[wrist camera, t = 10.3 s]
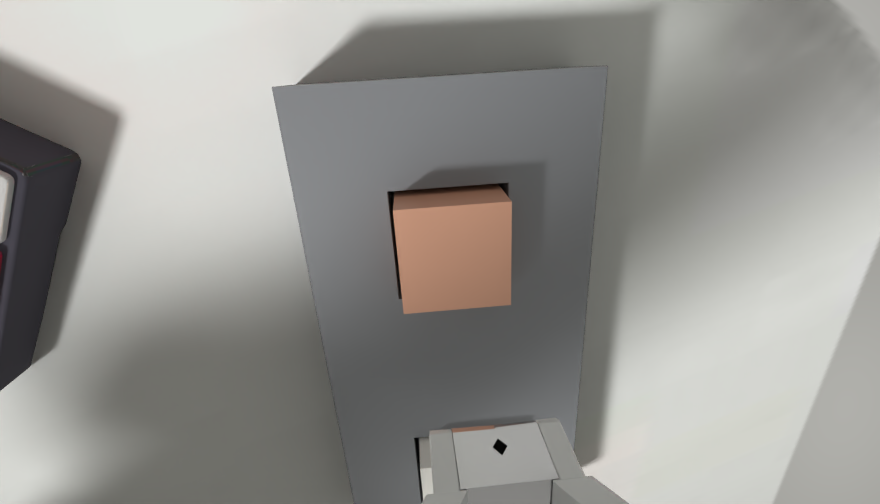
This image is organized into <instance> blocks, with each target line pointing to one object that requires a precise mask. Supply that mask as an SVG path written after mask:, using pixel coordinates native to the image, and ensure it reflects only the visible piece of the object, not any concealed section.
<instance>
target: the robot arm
mask: <svg viewBox="0 0 880 504" xmlns="http://www.w3.org/2000/svg"><path fill="white" fill-rule="evenodd" d="M429 441H430V455H431V469H432V482H433V494H427V495H426V497H425V498H424V500H423V502H422V503H421V504H629V503H628V502H626V501H625V500H624V499H622V498H621V497H620V496H618V495H617V494H616V493H614V492H613V491H612V490H610V489H609V488H608V487H606V486H605V485H604V484H602V483H601V482H600V481H598V480H597V479H595V478H594V477H593V476H586V477H585V474H584V472H583V470H582V468H581V466H580V464H579V462H578V460H577V457H576V455H575V453H574V451H573V449H572V447H571V445H570V442H569V440H568V438H567V436H566V434H565V432H564V430H563V427H562V425H561V423H560V421H559V420H558V419H557V418H549V419H540V420H535V421H534V420H532V421H523V422H514V423H506V424H497V425H490V426H477V427H465V428H452V429H446V430H432V431H429Z"/></svg>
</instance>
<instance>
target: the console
mask: <svg viewBox="0 0 880 504" xmlns="http://www.w3.org/2000/svg"><path fill="white" fill-rule="evenodd" d="M607 71H608V66H586V67H564V68H548V69H533V70H517V71H501V72H485V73H470V74H454V75H438V76H422V77H406V78H391V79H375V80H359V81H343V82H327V83H312V84H296V85H286V86H277V87H272V91H273V96H274V101H275V106H276V111H277V116H278V121H279V126H280V131H281V136H282V141H283V146H284V151H285V156H286V161H287V166H288V171H289V176H290V181H291V186H292V191H293V197H294V202H295V207H296V212H297V217H298V222H299V227H300V232H301V237H302V242H303V247H304V252H305V257H306V262H307V267H308V272H309V277H310V282H311V287H312V292H313V297H314V302H315V307H316V312H317V318H318V323H319V328H320V333H321V338H322V343H323V348H324V353H325V358H326V363H327V368H328V373H329V378H330V383H331V388H332V393H333V398H334V403H335V408H336V413H337V418H338V423H339V428H340V434H341V439H342V444H343V449H344V454H345V459H346V464H347V469H348V474H349V479H350V484H351V489H352V494H353V499H354V504H421V503H422V502H423V491H422V482H421V472H420V446H419V437H428V436H429V431H432V430H446V429H452V428H465V427H477V426H490V425H497V424H506V423H514V422H523V421H532V420H534V421H535V420H540V419H549V418H557V419H558V420H559V421H560V423H561V425H562V427H563V430H564V432H565V434H566V436H567V438H568V440H569V442H570V445H571V447H572V449H573V451H574V443H575V432H576V421H577V410H578V398H579V387H580V376H581V364H582V353H583V342H584V331H585V319H586V308H587V297H588V285H589V274H590V263H591V252H592V240H593V229H594V218H595V206H596V195H597V184H598V173H599V161H600V150H601V139H602V127H603V116H604V105H605V93H606V82H607ZM497 183H498V185H499V186H500V187H501V188H502V190H503V191H504V192H505V193H506V195H507V196H508V197H509V198H510V200H511V201H512V243H511V305H504V306H492V307H481V308H469V309H457V310H446V311H434V312H422V313H411V314H404V312H403V302H402V293H401V283H400V274H399V264H398V255H397V245H396V236H395V227H394V217H393V204H394V195H395V191H402V190H415V189H429V188H442V187H456V186H470V185H483V184H497Z"/></svg>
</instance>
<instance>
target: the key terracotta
mask: <svg viewBox="0 0 880 504" xmlns="http://www.w3.org/2000/svg"><path fill="white" fill-rule="evenodd" d="M393 217H394V227H395V236H396V245H397V255H398V264H399V274H400V283H401V293H402V302H403V312H404V314H411V313H422V312H434V311H446V310H457V309H469V308H481V307H492V306H504V305H511V243H512V201H511V200H510V198H509V197H508V196H507V195H506V193H505V192H504V191H503V190H502V188H501V187H500V186H499V185H498V183H497V184H483V185H470V186H456V187H442V188H429V189H415V190H402V191H395V195H394V204H393Z"/></svg>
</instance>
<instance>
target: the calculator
mask: <svg viewBox="0 0 880 504" xmlns="http://www.w3.org/2000/svg"><path fill="white" fill-rule="evenodd" d="M80 164H81V160H80V157H79V156H78V154H77V153H75V152H74V151H72V150H70V149H68V148H65V147H63V146H61V145H59V144H56V143H54V142H52V141H50V140H47V139H45V138H43V137H41V136H38V135H36V134H34V133H32V132H29V131H27V130H25V129H23V128H20V127H18V126H16V125H14V124H11V123H9V122H7V121H5V120H2V119H0V391H1V390H2V389H3V388H4V387H6V386H7V385H8V384H9V383H10V382H12V381H13V380H14V379H15V378H17V377H18V376H19V375H20V374H22V373H23V372H24V371H25V370H26V369H28V368H29V367H30V365H31V361H32V357H33V353H34V349H35V345H36V341H37V337H38V333H39V329H40V325H41V321H42V317H43V313H44V308H45V304H46V299H47V294H48V289H49V284H50V280H51V275H52V270H53V265H54V260H55V255H56V250H57V245H58V241H59V236H60V232H61V231H62V229H63V227H64V226H65V224H66V221H67V217H68V213H69V209H70V205H71V201H72V197H73V193H74V189H75V185H76V181H77V177H78V173H79V169H80Z"/></svg>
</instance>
